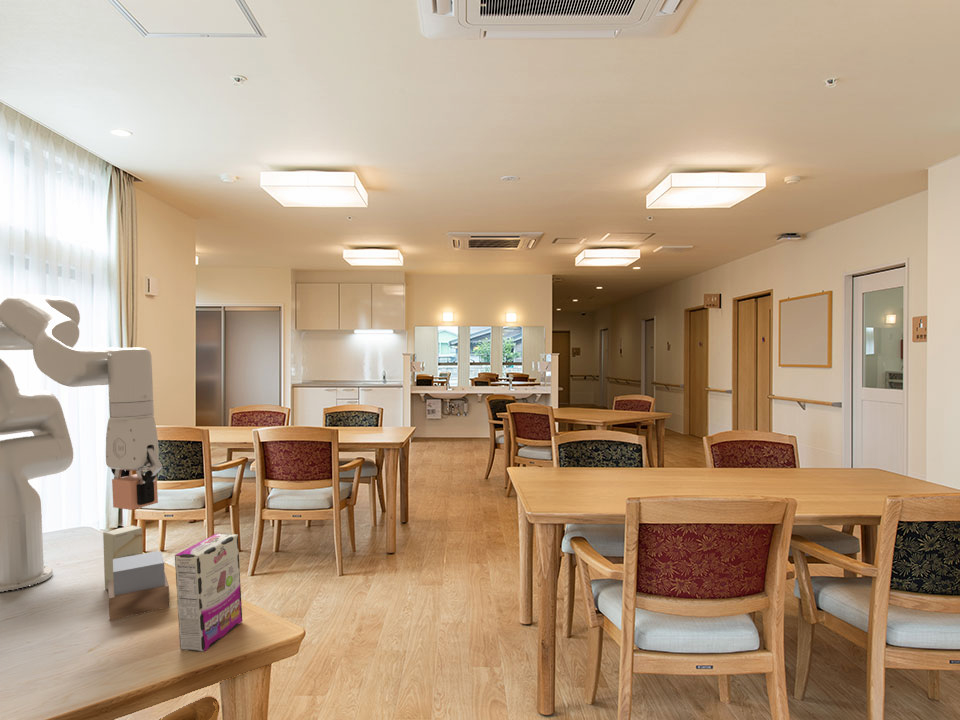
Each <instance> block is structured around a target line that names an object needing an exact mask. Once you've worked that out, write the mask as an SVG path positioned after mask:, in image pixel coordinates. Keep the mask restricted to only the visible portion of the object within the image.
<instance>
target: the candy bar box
mask: <svg viewBox="0 0 960 720" xmlns="http://www.w3.org/2000/svg"><path fill="white" fill-rule="evenodd" d="M239 548H240V547H239V534H235V533H234V534H233V533H230V534H229V533H215V534H213V535H211V536H209V537H208V538H205V539H203V540H201V541H199V542H197V543H195V544H193V545H192V546H190V547H188V548H186V549H183V550H182V551H179V552H178V553H176V554H174V565H175V566H174V567H175V581H176V583H175V584H176V598H177V600H176V601H177V614H178V615H177V617H178V619H177V620H178V634H179V649H180V650H181V651H185V650H187V651H189V652H200V653H201V652H204V653H205V652H206V651H207V650H209V649H210V648H212V646H213V645H215V644H216V643H218V642H219V641H220V640H221V639H222V638H224V637H225V636H226V635H228V632H229V633H230V632H231V631H232V630H233V629H235V628H236V627H237V626H238V625H240V624H241V623H242V622H243V608H242V604H243V603H242V591H241V589H242V588H241V571H240V570H241V569H240V568H241V567H240V554H239V553H240V551H239ZM223 636H224V637H223ZM187 651H186V652H187Z"/></svg>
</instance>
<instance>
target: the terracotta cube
mask: <svg viewBox="0 0 960 720" xmlns="http://www.w3.org/2000/svg"><path fill="white" fill-rule="evenodd" d="M143 474H144V475H145V473H143ZM111 484H112V485H111V487H112V488H111V489H112V507H113V508H115V509H120V510H121V509H122V510H123V509H124V510H129V511H134V510H137V509H140V508H144V507H147V506H151V505H155V504H158V503H159V497H158V495H159V494H158V475H157V476H156V481H155V482H154V502H151V503H147V504H143V505H138V503H137V485H138V484H139V481H138V477H137V473H135V474H131V475H130V476H125V477H121V478H116V479H114V478H112V479H111Z"/></svg>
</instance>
